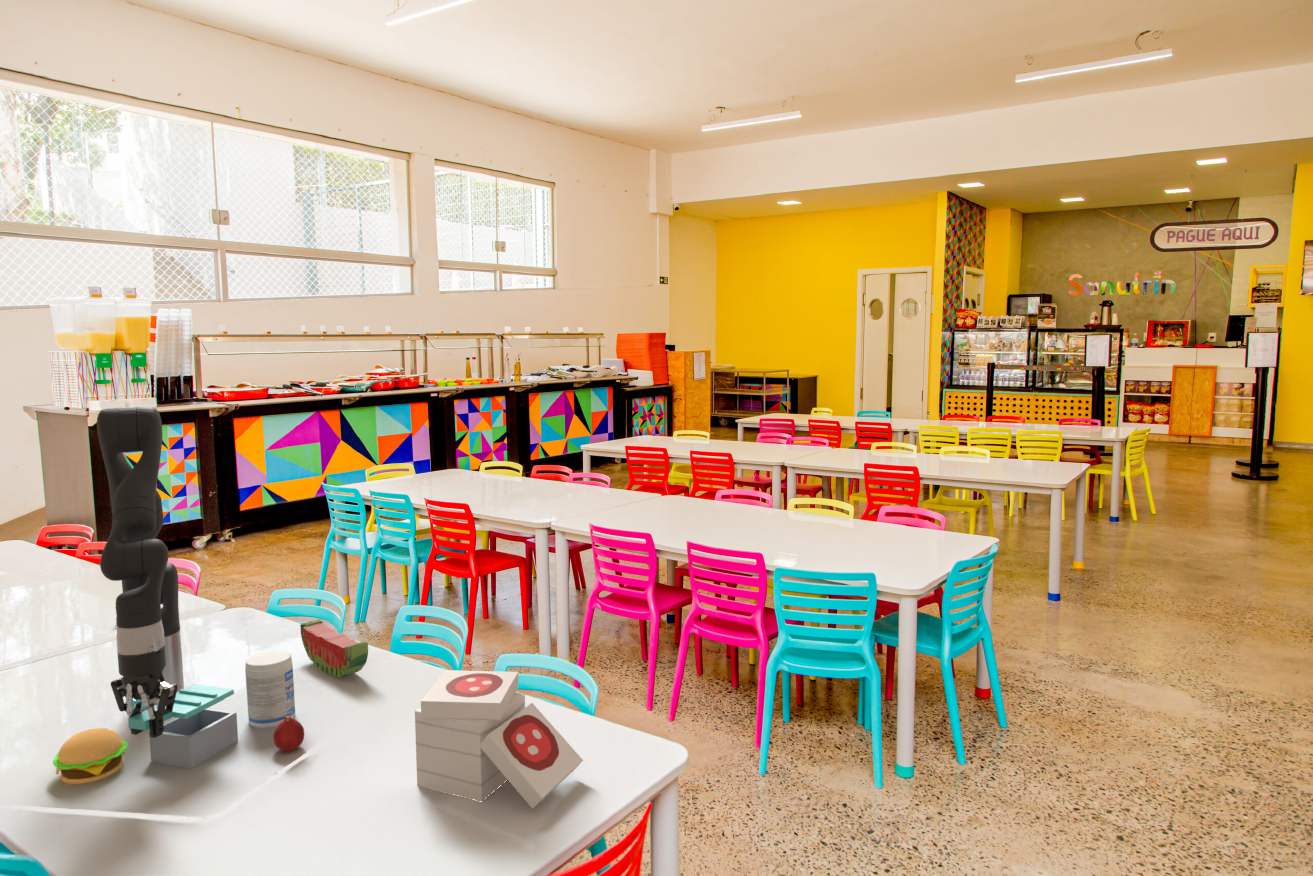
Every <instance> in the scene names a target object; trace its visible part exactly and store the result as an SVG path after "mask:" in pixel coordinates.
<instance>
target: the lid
mask: <svg viewBox="0 0 1313 876" xmlns="http://www.w3.org/2000/svg"><path fill="white" fill-rule="evenodd" d="M234 691H235V690H234V689H233V688H227V687H226V688H225V687H219V686H211V685H205V684H199V683H198V684H197V683H194V684H192V685H189V686H187V687H184V689H181V690H179V692H177V693H176V697H175V702H174V706H173V710H172V712H170V713H168V714H166V715H164V716H163V723H164V722H166V721H168V720H169V719H172V718H174V719H175V718H182V719H187V718H189V717H191V716H193V715H195V714H197V713H199V712H201V711H203V710H205V709H207V708H212V706H215V705H216V704H218V703H220V702H222V701H224V700H225V699H227V698H228V697H229V698H230V697H231V696H233V695H234V694H235V692H234ZM154 709H155V711H156V710H157V706H156V705H155V706H154ZM140 712H141V713H139V714H137V715H135V716H133V717H131V718H127V719H128V720H127V721H128V728H129V729H130V728H133V729H139V730H144V731H148V730H150V724H149V719H150V717H149V714H148V710H147V708H144V711H140Z"/></svg>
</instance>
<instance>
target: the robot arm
mask: <svg viewBox="0 0 1313 876" xmlns="http://www.w3.org/2000/svg"><path fill="white" fill-rule="evenodd" d="M96 418H97V419H96V430H97V436H98V442H99V446H100V449H101V454H102V455H101V456H102V458H103V463H104V466H105V471H106V475H107V481H108V487H109V488H108V489H109V495H110V496H109V497H110V498H109V499H110V505H111V513H112V523H111V524H112V525H111V530H110V534H109V537H108V539H107V541H106V543H105V546H104V547H103V549H102V553H101V556H100V560H99V566H100V571H101V573H102V575H103V576H104V577H105V578H106V580H107V579H108V580H110V581H112V582H113V581H115V582H116V581H117V582H120V581H121V587H122V593H120V594H119V595H117V597H116V598H115V607H116V608H115V613H116V618H117V619H116V620H117V625H116V628H117V629H116V649H117V651H116V652H117V663H118V664H117V665H118V666H117V667H118V674H119V675H120V676H121V677H120V678H117V679H115V680H112V681H111V682H110V687H111V690H112V692H113V696H114V699H115V701H116V702H115V703H116V704H117V707H118V710H119V711H120V712H124V713H126V715H127V716H128V717H129V718H131V717H133V716H135V715H137V714H139V713H141V712H143V711H144V708H147V710H148V714H149V717H150V719H149V724H150V729H149V731H150V737H151V738H156V737H158V736H160V735H161V734H162V733H163V731H164V725H163V724H165V723H164V722H163V716H164V715H166V714H168V713H170V712H172V710H173V706H174V702H175V697H176V693H177V692H179V690H181V689H185V685H184V683H185V682H184V681H185V680H184V668H183V667H184V666H183V651H182V650H183V649H182V640H181V639H182V637H181V636H182V635H181V623H180V612H179V611H180V610H179V608H180V607H179V574H178V569H177V566H176V565H174V564H173V563H171V562H170V563H169V549H168V547H167V545H166V544H165V543H164V542H163V540H161V539H158V538H156V537H157V536H158V535H159V533H160V531H161V530H162V528H163V525H164V510H163V502H162V497H161V494H160V493H159V491H158V490H157V484H158V477H159V470H160V465H161V464H160V463H161V457H162V455H161V454H162V448H163V447H162V445H163V424H162V418H161V415H160V412H159V411H158V409H157V408H156V407H153V406H152V407H151V406H125V407H124V406H123V407H109V408H103V409H101V410H100V411H99V413H98V414H97V417H96ZM140 452H142V453H141V456H140V458H139V460H138V461H137V463H136V464H135V465H134V466H133V467H132V466H131V464H130V463H129V462H128V460H127V459H126V457H125V454H124V453H140ZM161 605H162V606H161ZM124 697H125V701H124ZM155 705H156V706H157V710H156V711H155V709H154V706H155ZM129 729H130V733H131V735H133V736H134V735H135V736H136V735H139V734H141V733H142V732H144V731H145V730H139V729H133V728H129ZM150 737H149V738H150Z"/></svg>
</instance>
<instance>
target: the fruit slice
mask: <svg viewBox="0 0 1313 876" xmlns="http://www.w3.org/2000/svg"><path fill="white" fill-rule="evenodd" d="M299 628H300V635H301V641H302V645H303V647H304V650H305V652H306V655H307V657H308V659H309V660H310V661H312V663H313V664H314V665H315V666H316V668H317V669H318V670H319V671H321V672H323V673H324V672H325V673H324V674H326V673H327V674H326V675H330V676H333V677H334V678H343V677H345V676H348V675H349V676H350V675H353V674H355V673H358V672H360V671H361V670H363V668H364V667H365V665H366V663H367V659H368V656H369V643H368V641H361V642H358V641H356V640H355V639H352V638H349V637H347V635H346V634H344V633H341V632H338V631H336V630H334V629H332V628H330V627H329V626H326V625H325V624H323V620H321V619H320V618H319V619H316V620H312V621H308V622H307V621H306V622H302V623H300V627H299Z"/></svg>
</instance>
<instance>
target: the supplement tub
mask: <svg viewBox="0 0 1313 876" xmlns="http://www.w3.org/2000/svg"><path fill="white" fill-rule="evenodd" d="M244 667H245V668H244V669H245V685H246V702H247V715H248V716H247V717H248V724H249V725H250V726H252V727H254V728H263V729H264V728H273V727H277V726H278V725H279V724H280V723H281V722H282V721H284V718H285V717H286V716H290V717H291V718H292V719H295V718H294V717H295V716H296V704H295V703H296V701H295V685H294V684H295V683H294V682H295V681H294V666H293V659H292V654H291V652H289V651H286V650H269V651H263V652H260V653H257V654H256V653H255V654H253V655H251V656H250V657H248V658H247V659H245V666H244Z"/></svg>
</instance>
